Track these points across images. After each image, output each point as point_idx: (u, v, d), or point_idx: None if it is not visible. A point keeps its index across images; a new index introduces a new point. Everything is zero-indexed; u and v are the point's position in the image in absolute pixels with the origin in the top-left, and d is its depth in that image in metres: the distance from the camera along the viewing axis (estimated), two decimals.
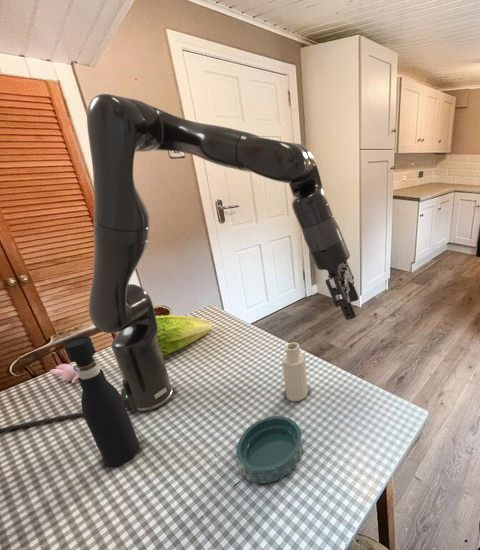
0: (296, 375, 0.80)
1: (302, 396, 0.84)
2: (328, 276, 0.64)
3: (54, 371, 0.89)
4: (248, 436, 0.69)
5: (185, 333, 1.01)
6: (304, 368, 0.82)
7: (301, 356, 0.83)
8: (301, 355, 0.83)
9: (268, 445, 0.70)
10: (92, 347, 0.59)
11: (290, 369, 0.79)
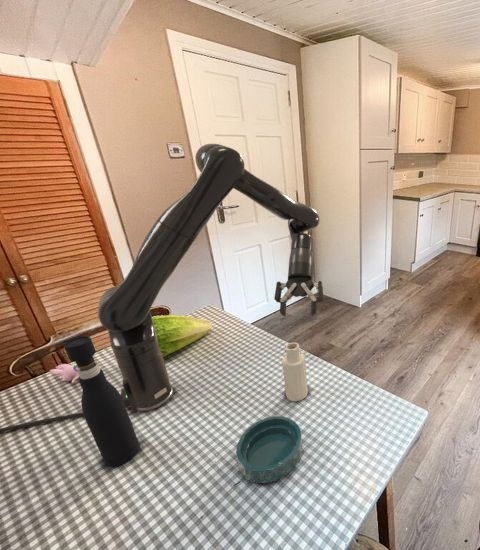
0: (296, 375, 0.80)
1: (302, 396, 0.84)
2: (304, 283, 0.91)
3: (54, 371, 0.89)
4: (248, 436, 0.69)
5: (185, 333, 1.01)
6: (304, 368, 0.82)
7: (301, 356, 0.83)
8: (301, 355, 0.83)
9: (268, 445, 0.70)
10: (92, 347, 0.59)
11: (290, 369, 0.79)
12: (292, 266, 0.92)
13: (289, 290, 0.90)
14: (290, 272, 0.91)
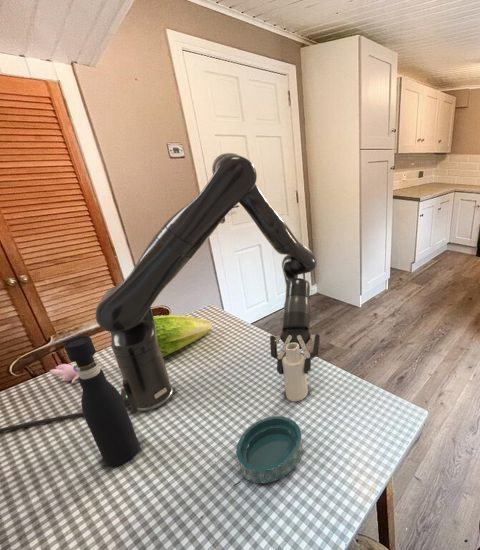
0: (296, 375, 0.80)
1: (302, 396, 0.84)
2: (300, 335, 0.84)
3: (54, 371, 0.89)
4: (248, 436, 0.69)
5: (185, 333, 1.01)
6: (304, 368, 0.82)
7: (301, 356, 0.83)
8: (301, 355, 0.83)
9: (268, 445, 0.70)
10: (92, 347, 0.59)
11: (290, 369, 0.79)
12: (287, 316, 0.84)
13: (284, 343, 0.83)
14: (285, 323, 0.84)
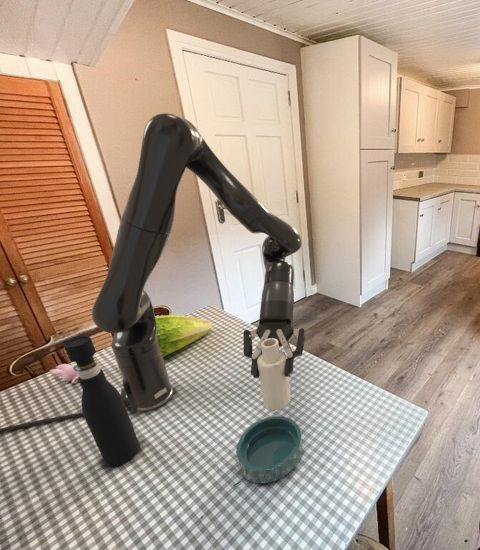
0: (274, 379, 0.65)
1: (283, 404, 0.68)
2: (281, 329, 0.68)
3: (54, 371, 0.89)
4: (248, 436, 0.69)
5: (185, 333, 1.01)
6: None
7: (282, 355, 0.67)
8: (281, 354, 0.67)
9: (268, 445, 0.70)
10: (92, 347, 0.59)
11: (267, 371, 0.64)
12: (265, 307, 0.69)
13: (260, 340, 0.67)
14: (262, 315, 0.69)
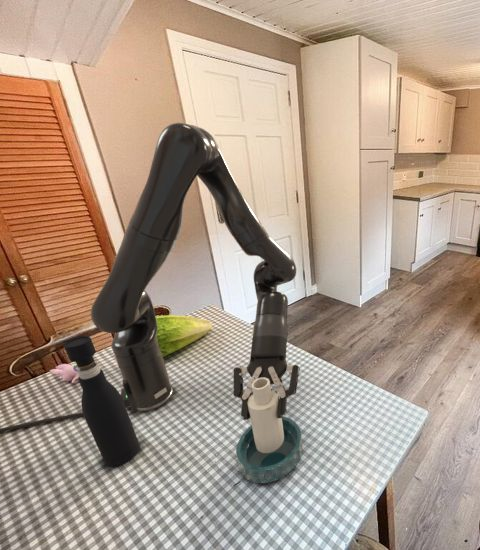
0: (266, 421, 0.61)
1: (276, 446, 0.64)
2: (273, 367, 0.64)
3: (54, 371, 0.89)
4: (248, 436, 0.69)
5: (185, 333, 1.01)
6: (277, 411, 0.63)
7: (274, 394, 0.63)
8: (274, 393, 0.64)
9: None
10: (92, 347, 0.59)
11: (258, 414, 0.60)
12: (256, 342, 0.65)
13: (251, 378, 0.63)
14: (253, 351, 0.65)
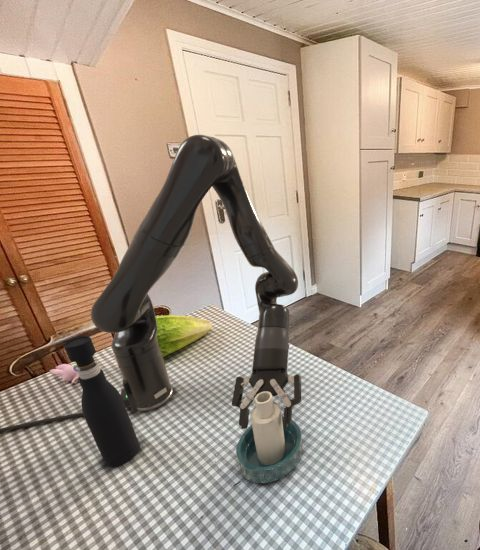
0: (268, 435, 0.62)
1: (277, 458, 0.66)
2: (274, 379, 0.66)
3: (54, 371, 0.89)
4: (248, 436, 0.69)
5: (185, 333, 1.01)
6: (279, 424, 0.64)
7: (276, 408, 0.65)
8: (276, 407, 0.65)
9: None
10: (92, 347, 0.59)
11: (260, 428, 0.61)
12: (258, 355, 0.66)
13: (253, 391, 0.65)
14: (255, 364, 0.66)
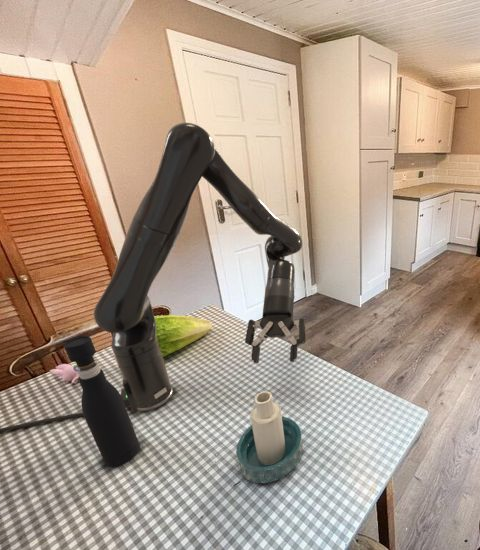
0: (268, 435, 0.62)
1: (277, 458, 0.66)
2: (282, 321, 0.75)
3: (54, 371, 0.89)
4: (248, 436, 0.69)
5: (185, 333, 1.01)
6: (279, 424, 0.64)
7: (276, 408, 0.65)
8: (276, 407, 0.65)
9: None
10: (92, 347, 0.59)
11: (260, 428, 0.61)
12: (268, 301, 0.76)
13: (263, 331, 0.74)
14: (265, 308, 0.75)
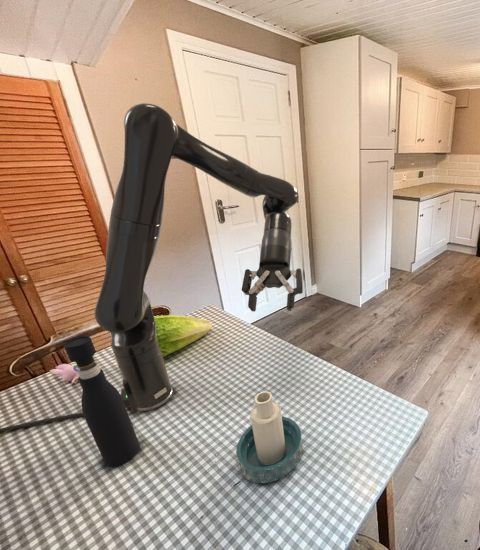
0: (268, 435, 0.62)
1: (277, 458, 0.66)
2: (278, 270, 0.74)
3: (54, 371, 0.89)
4: (248, 436, 0.69)
5: (185, 333, 1.01)
6: (279, 424, 0.64)
7: (276, 408, 0.65)
8: (276, 407, 0.65)
9: None
10: (92, 347, 0.59)
11: (260, 428, 0.61)
12: (264, 250, 0.75)
13: (260, 279, 0.73)
14: (262, 258, 0.75)
